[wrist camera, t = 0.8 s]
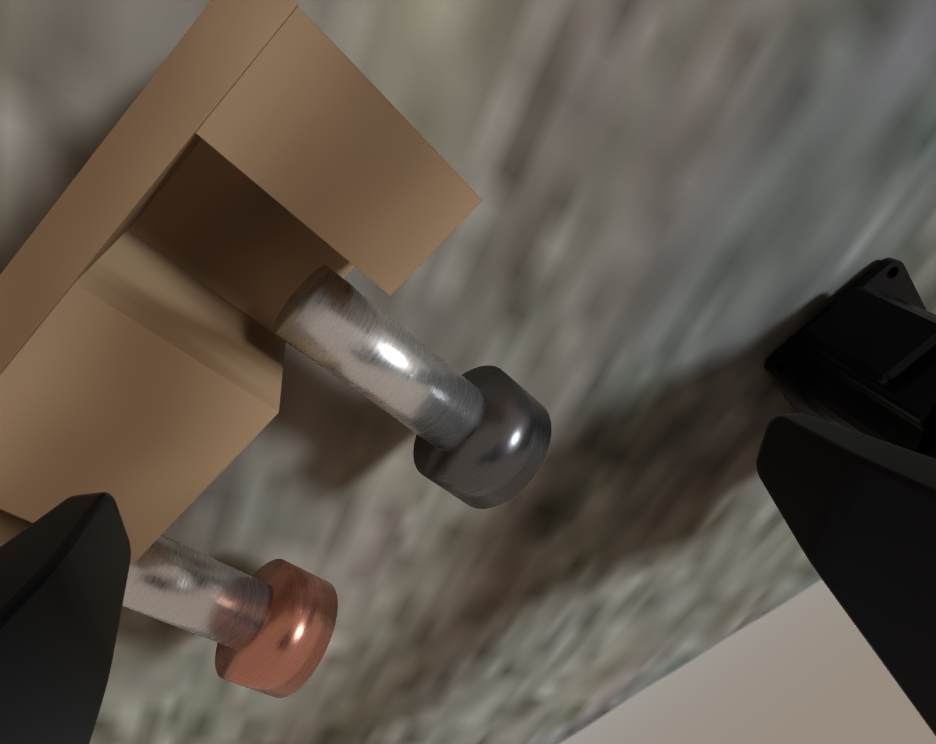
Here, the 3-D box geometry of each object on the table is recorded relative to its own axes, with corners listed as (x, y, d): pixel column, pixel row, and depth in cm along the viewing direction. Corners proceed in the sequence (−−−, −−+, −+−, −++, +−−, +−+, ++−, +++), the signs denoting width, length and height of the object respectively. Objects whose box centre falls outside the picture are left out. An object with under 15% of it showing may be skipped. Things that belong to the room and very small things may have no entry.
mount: (434, 155, 18) (488, 205, 13) (62, 560, 22) (-21, 733, 17) (271, -15, 15) (248, -48, 10) (-124, 485, 19) (-301, 665, 14)
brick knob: (335, 559, 22) (339, 652, 19) (268, 622, 23) (260, 722, 20) (135, 456, 19) (95, 549, 15) (62, 536, 19) (8, 642, 16)
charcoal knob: (527, 379, 20) (569, 446, 17) (446, 455, 21) (471, 534, 18) (348, 221, 17) (357, 268, 13) (257, 321, 17) (243, 390, 14)
